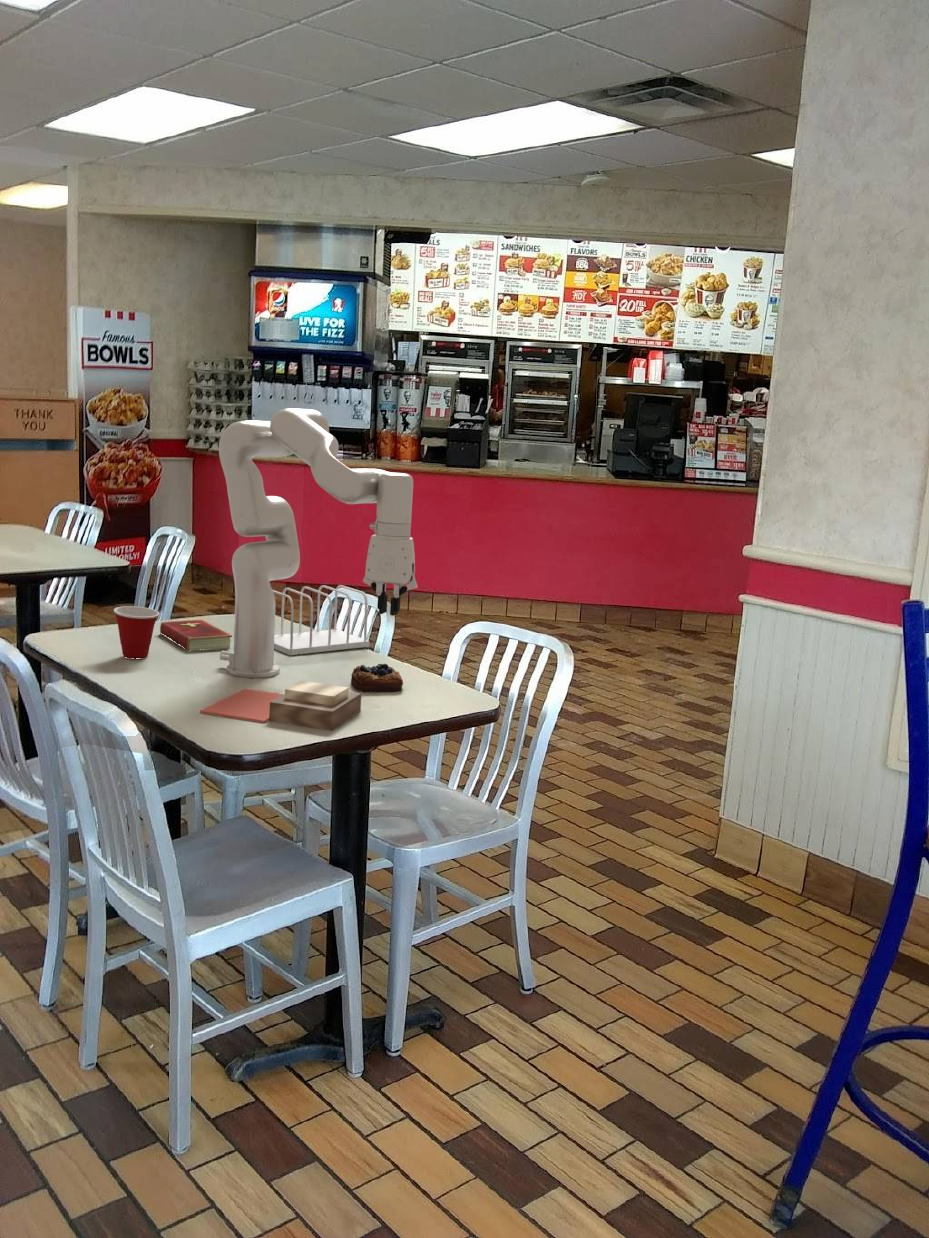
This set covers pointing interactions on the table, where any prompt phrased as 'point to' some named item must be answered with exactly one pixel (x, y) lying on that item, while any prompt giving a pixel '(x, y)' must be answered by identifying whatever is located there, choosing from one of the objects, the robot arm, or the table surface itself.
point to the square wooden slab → (314, 712)
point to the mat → (244, 705)
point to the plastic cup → (135, 630)
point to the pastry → (376, 679)
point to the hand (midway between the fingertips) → (388, 613)
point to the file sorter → (318, 639)
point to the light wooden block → (316, 693)
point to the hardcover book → (196, 634)
